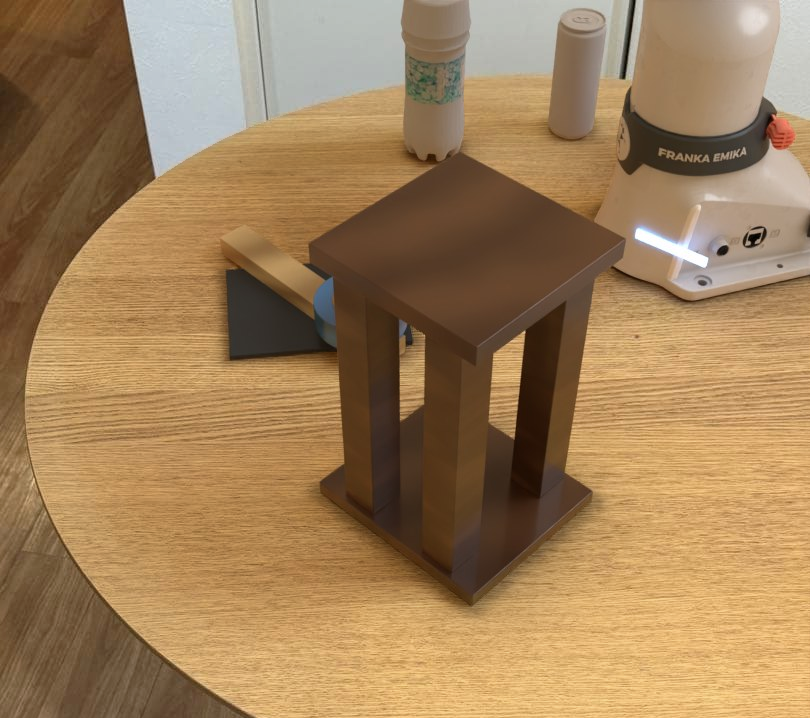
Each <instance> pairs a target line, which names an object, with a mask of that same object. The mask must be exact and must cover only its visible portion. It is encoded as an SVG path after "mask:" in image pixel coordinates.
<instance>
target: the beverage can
mask: <svg viewBox="0 0 810 718" xmlns="http://www.w3.org/2000/svg"><path fill="white" fill-rule="evenodd" d="M607 29H608V28H607V17H606V16H605V14H604V13H602V12H601V11H599V10H597V9H593V8H588V7H573V8H570V9H567V10H564V11H563V12H562V13H561V14H560V16H559V20H558V22H557V30H556V38H555V39H556V40H555V50H554V58H553V59H554V60H553V69H552V70H553V71H552V79H551V89H550V98H549V108H548V117H547V125H548V127H549V129H550V131H551V132H552V133H553V134H554V135H555V136H557V137H560V138H562V139H566V140H579V139H582V138H584V137H586V136H587V135H589V134H590V132H592V130H593V128H594V125H595V119H596V118H595V117H596V110H597V105H598V103H597V102H598V95H599V88H600V82H601V73H602V65H603V58H604V53H605V52H604V51H605V43H606V37H607V36H606V35H607Z"/></svg>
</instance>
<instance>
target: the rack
mask: <svg viewBox="0 0 810 718" xmlns="http://www.w3.org/2000/svg"><path fill="white" fill-rule="evenodd" d="M593 221H594V220H591V218H587V217H586V216H584V215H582V214H580V213H578V212H576V211H574V210H572V209H571V208H568V207H566V206H565V205H563V204H561V203H559V202H557V201H555V200H553V199H552V198H549V197H548V196H546V195H543V194H542V193H540V192H538V191H536V190H534V189H532V188H530V187H528V186H526V185H525V184H523V183H521V182H519V181H517V180H515V179H513V178H512V177H509V176H508V175H505V174H504V173H501V172H500V171H498V170H496V169H495V168H493V167H490V166H489V165H486V164H485V163H483V162H481V161H479V160H476V158H473V157H471V156H469V155H467V154H465V153H464V152H462V151H458V152H457V153H456V154H455V155H453V156H449V157H448V158H445V159H444V160H443V161H440V163H438V164H437V165H435V166H433V167H431V168H429V169H428V170H427V171H425V172H424V173H422V174H420V175H419V176H416V177H415V178H413V179H412V180H410V181H409V182H406V183H405V184H403V185H402V186H400V187H398V188H397V189H395V190H393V191H392V192H390V193H389V194H387V195H385V196H383V197H382V198H380V199H379V200H377V201H375V202H373V203H372V204H370V205H369V206H367V207H365V208H363V209H362V210H360V211H359V212H357V213H356V214H354V215H352V216H351V217H349V218H347V219H346V220H344V221H342V222H341V223H339V224H338V225H336V226H334V227H333V228H331V229H329V230H327V231H326V232H324V233H322V234H321V235H319V236H317V237H315V238H314V239H312V240H311V241H309V242H308V244H307V245H308V257H309V263H312V264H313V265H315V266H316V267H318V268H320V269H321V270H323V271H324V272H326V273H327V274H329V275H331V276H332V277H333V291H334V307H335V323H336V339H337V351H336V352H337V353H336V354H337V355H336V356H337V368H338V369H337V370H338V384H339V402H340V417H341V433H342V434H341V435H342V448H343V464H341V466H338V467H337V468H336V469H335V470H333V471H332V472H331V473H329V474H327V476H325V477H324V478H322V479H321V480H320V481H319V492H320V493H321V494H323V495H324V496H325V497H326V498H328V499H329V500H331V501H332V502H333V503H334V504H336V505H337V506H339V507H340V508H341V509H342V510H343V511H345V512H346V513H348V514H349V515H351V516H352V517H353V518H354V519H355V520H357V521H358V522H359V523H360V524H362V525H364V526H365V527H366V528H368V530H370V531H372V533H374V534H376V535H377V536H378V537H380V538H381V539H382V540H383V541H385V542H386V543H387V544H389V545H390V546H392V547H393V548H394V549H396V550H397V551H398V552H399V553H401V554H402V555H403V556H405V557H406V558H407V559H409V560H410V561H411V562H412V563H414V564H415V565H416V566H418V567H419V568H420V569H422V570H423V571H425V572H426V573H427V574H429V575H430V576H431V577H433V578H434V579H435V580H436V581H438V582H439V583H441V584H442V585H443V586H444V587H446V588H447V589H448V590H450V591H451V592H452V593H454V594H456V595H457V596H458V597H459V598H461V599H462V600H463V601H465V602H466V603H467V604H469V605H470V606H471V607H472V606H474V605H475V604H476V603H477V602H478V601H480V600H481V599H482V598H483V597H484V596H485V595H486V594H488V593H489V592H490V591H491V590H492V589H493V588H494V587H495V586H496V585H498V584H499V583H500V582H501V581H502V580H504V579H505V578H506V576H508V575H509V574H511V572H513V571H514V570H515V569H516V568H517V567H518V566H519V565H520V564H522V563H523V562H524V561H525V560H526V559H527V558H529V557H530V556H531V555H532V554H533V553H534V552H535V551H536V550H538V549H539V548H541V546H542V545H543V544H544V543H546V542H547V541H548V540H549V539H550V538H551V537H552V536H553V535H555V534H556V533H557V532H558V531H560V530H561V528H563V527H564V526H565V525H566V524H567V523H569V521H571V520H572V519H573V518H574V517H575V516H576V515H578V513H580V512H581V511H582V510H583V509H584V508H585V507H586V506H588V505H589V504H590V503H591V502H592V500H593V495H594V491H593V490H592V489H591V488H589V487H588V486H586V485H585V484H583V483H581V482H580V481H578V480H577V479H575V478H574V477H572V476H570V475H569V474H568V473H566V468H567V462H568V454H569V449H570V442H571V435H572V429H573V423H574V416H575V409H576V402H577V396H578V392H579V391H578V390H579V383H580V377H581V371H582V365H583V358H584V351H585V346H586V338H587V333H588V327H589V320H590V314H591V306H592V301H593V293H594V287H595V282H596V278H598V277H599V276H601V275H603V273H605V272H606V271H609V269H610V268H612V267H614V266H613V265H614V264H616V263H617V262H618V261H620V260H621V259H622V258H623V255H624V249H625V244H626V238H624V237H622V236H620V235H618V234H616V233H614V232H612V231H610V230H609V229H607V228H605V227H603V226H601V225H599V224H597V223H595V222H593ZM399 319H401V320H402V321H404V322H405V323H407V324H408V325H410V327H411V328H413V329H415V330H416V331H418V332H420V333H421V334H423V335H424V377H423V378H424V379H423V380H424V381H423V382H424V383H423V386H424V387H423V404H422V405H421V406H420V407H419V408H417V409H416V410H415V411H413V412H412V413H411V414H409V415H408V416H407V417H405V418H404V419H402V420H401V377H400V376H401V375H400V374H401V373H400V372H401V370H400V369H401V368H400V367H401V366H400V365H401V363H400V359H401V357H400V356H401V355H400V349H399ZM522 333H524V340H523V351H522V358H521V359H522V361H521V371H520V380H519V389H518V390H519V391H518V399H517V410H516V418H515V429H514V437H513V438H512V437H511V436H510V435H508V434H507V433H506V432H503V430H501V429H499V428H497V427H496V426H494V425H493V424H491V423H489V421H490V420H489V419H490V418H489V417H490V405H491V404H490V403H491V393H492V379H493V365H494V354H495V353H496V352H498V351H499V350H501V349H502V348H504V347H505V346H506V345H507V344H509V343H510V342H512V341H513V340H514V339H516V338H517V337H519V336H520V335H521V334H522Z"/></svg>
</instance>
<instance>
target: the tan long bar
mask: <svg viewBox="0 0 810 718" xmlns="http://www.w3.org/2000/svg"><path fill="white" fill-rule="evenodd" d="M219 244H220V252H221V254H222V255H223V256H225V257H226V258H228V259H229V260H231V262H233V263H235V264H236V265H237V266H239V267H240V268H241V269H244V270H246V271H247V272H248V273H250V274H251V275H253V276H254V277H255V278H257V279H258V280H260V281H261V282H262V283H264V284H265V285H266V286H268V287H269V288H271V289H272V290H273V291H275V292H276V293H278V294H279V295H280V296H282V297H283V298H285V299H286V300H287V301H289V302H290V303H291V304H293V305H294V306H296V307H297V308H298V309H300V310H301V311H303V312H304V313H305V314H307V315H308V316H309V317H311V318H312V319H314V320H315V327H316V330H317V332H318V334H319V335H320V337H321V338H322V339H323V340H324V341H325V342H327V343H328V344H330V345H331V346H333V347H335V348H337V339H336V323H335V307H334V291H333V277H331V278H329V279H328V280H324V279H323V278H321V277H320V276H318V275H317V274H315V273H314V272H313V271H311V270H310V269H308V268H307V267H305V266H304V265H302V264H303V263H301V262H300V261H298V260H297V259H296V258H294V257H293V256H291V255H289V254H288V253H286V252H285V251H284V250H283V249H281V248H279V247H278V246H277V245H275V244H273V243H272V242H271V241H269V239H266V238H265V237H264V236H262V235H260V234H259V233H258V232H256V231H255V230H253V229H252V228H251V227H249V226H248V225H246V224H242V225H240V226H239V227H237V228H234V229H233V230H231V231H229V232H227V233H225V234H223V235H221V236H219ZM406 327H407V323H405V322H404V321H402V320H401V319H399V349H400V356H401V355H403V354H404V353H405V352H407V351H406V348H407V347H406V345H405V335H404V334H403V333H404V331H405V330H406Z"/></svg>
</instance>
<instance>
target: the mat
mask: <svg viewBox="0 0 810 718" xmlns="http://www.w3.org/2000/svg"><path fill="white" fill-rule="evenodd" d="M301 264H302V265H304V266H305V267H307V268H308V269H310V270H311V271H313V272H314V273H315V274H317V275H318V276H320V277H321V278H323V279H324V280H328V279H329V278H331V277H332V276H331V275H329V274H327V273H326V272H324V271H323V270H321V269H320V268H318V267H316V266H315V265H313V264H312V263H310V262H309V263H308V262H307V263H301ZM225 279H226V280H225V281H226V282H225V283H226V304H227V307H226V308H227V328H228V329H227V331H228V351H229V352H228V353H229V360H230V361H236V360H237V361H238V360H246V359H247V360H249V359H259V358H270V357H271V358H272V357H282V356H294V355H295V356H296V355H305V354H318V353H331V352H337V348H335V347H333V346H331V345H330V344H328V343H327V342H325V341H324V340H323V339H322V338H321V337H320V335H319V334H318V332H317V330H316V327H315V320H314V319H312V318H311V317H309V316H308V315H307V314H305V313H304V312H303V311H301V310H300V309H298V308H297V307H296V306H294V305H293V304H291V303H290V302H289V301H287V300H286V299H285V298H283V297H282V296H280V295H279V294H278V293H276V292H275V291H273V290H272V289H271V288H269V287H268V286H266V285H265V284H264V283H262V282H261V281H260V280H258V279H257V278H255V277H254V276H253V275H251V274H250V273H248V272H247V271H246V270H244V269H243V268H233V269H225ZM403 334H404V335H405V346H412V345H414V339H413V333H412V327H411V326H410V325H408V324H407V327H406V330H405V331H404V333H403Z"/></svg>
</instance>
